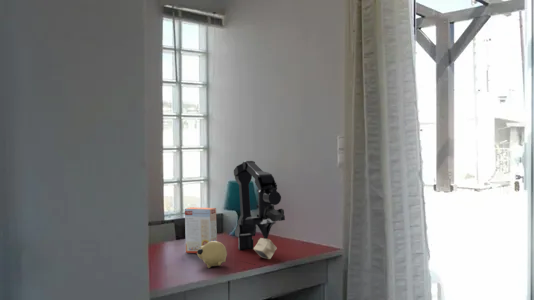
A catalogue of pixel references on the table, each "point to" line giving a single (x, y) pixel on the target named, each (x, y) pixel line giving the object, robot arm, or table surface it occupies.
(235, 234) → the robot arm
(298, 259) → the table surface
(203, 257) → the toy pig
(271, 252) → the birch cube
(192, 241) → the cracker box
